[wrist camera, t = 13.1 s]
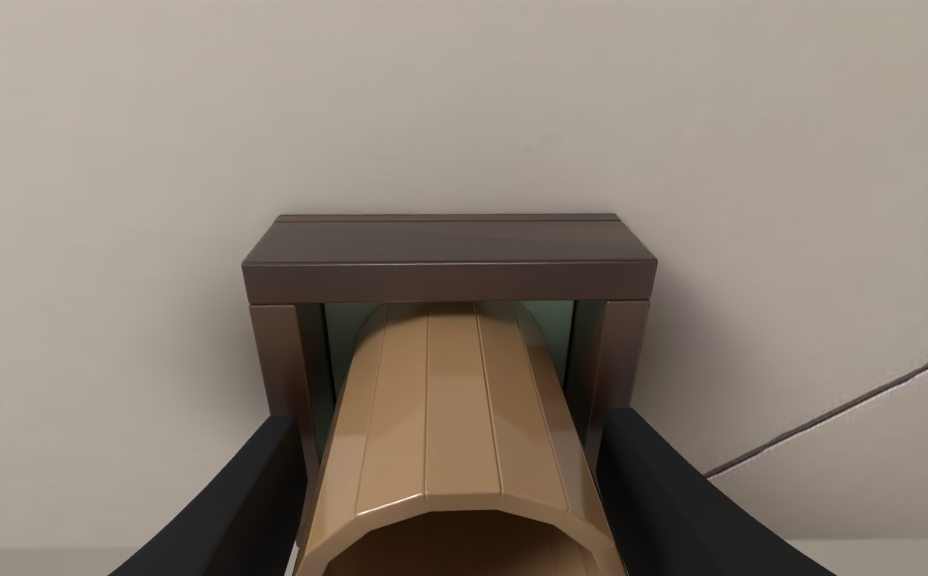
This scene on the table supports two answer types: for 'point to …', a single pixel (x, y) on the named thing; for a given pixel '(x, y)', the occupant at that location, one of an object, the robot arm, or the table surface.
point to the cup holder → (446, 280)
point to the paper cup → (454, 454)
